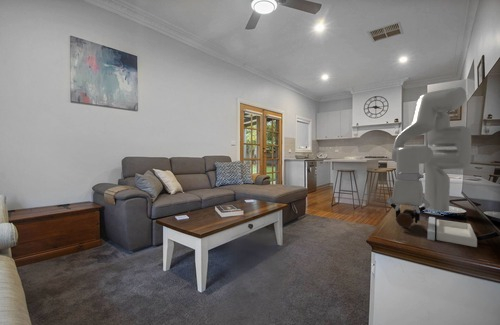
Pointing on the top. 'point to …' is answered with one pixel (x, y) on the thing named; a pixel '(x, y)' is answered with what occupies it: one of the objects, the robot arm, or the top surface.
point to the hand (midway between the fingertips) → (407, 220)
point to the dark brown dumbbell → (406, 218)
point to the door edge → (431, 228)
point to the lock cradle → (456, 233)
